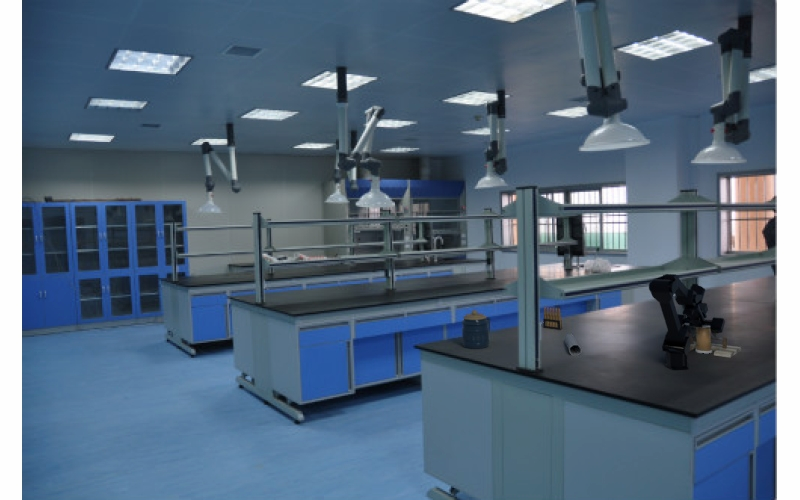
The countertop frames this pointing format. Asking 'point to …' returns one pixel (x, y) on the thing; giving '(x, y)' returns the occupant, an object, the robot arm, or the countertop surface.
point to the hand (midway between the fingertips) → (703, 334)
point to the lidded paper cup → (703, 339)
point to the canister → (475, 331)
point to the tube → (571, 342)
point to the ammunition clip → (552, 319)
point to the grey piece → (718, 347)
